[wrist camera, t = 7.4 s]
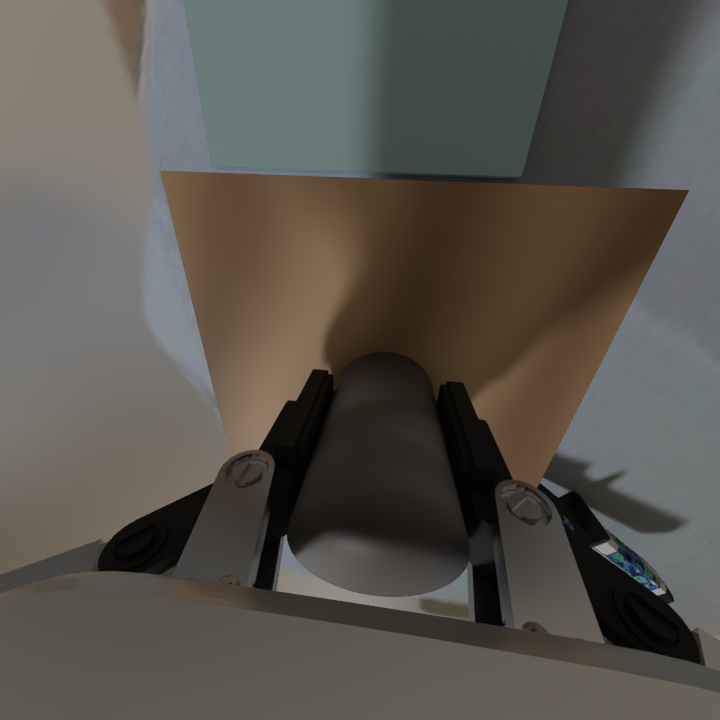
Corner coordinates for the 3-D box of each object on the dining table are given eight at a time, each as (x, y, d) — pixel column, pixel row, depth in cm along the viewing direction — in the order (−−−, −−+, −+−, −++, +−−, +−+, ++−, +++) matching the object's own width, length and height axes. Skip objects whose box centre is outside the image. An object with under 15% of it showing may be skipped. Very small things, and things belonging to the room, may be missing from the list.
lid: (662, 192, 8) (1462, 120, 2) (510, 513, 15) (588, 711, 9) (178, 174, 9) (-232, 92, 3) (245, 480, 16) (158, 637, 10)
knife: (649, 557, 31) (684, 605, 27) (622, 567, 32) (651, 613, 28) (456, 383, 27) (463, 407, 23) (433, 401, 28) (436, 427, 24)
